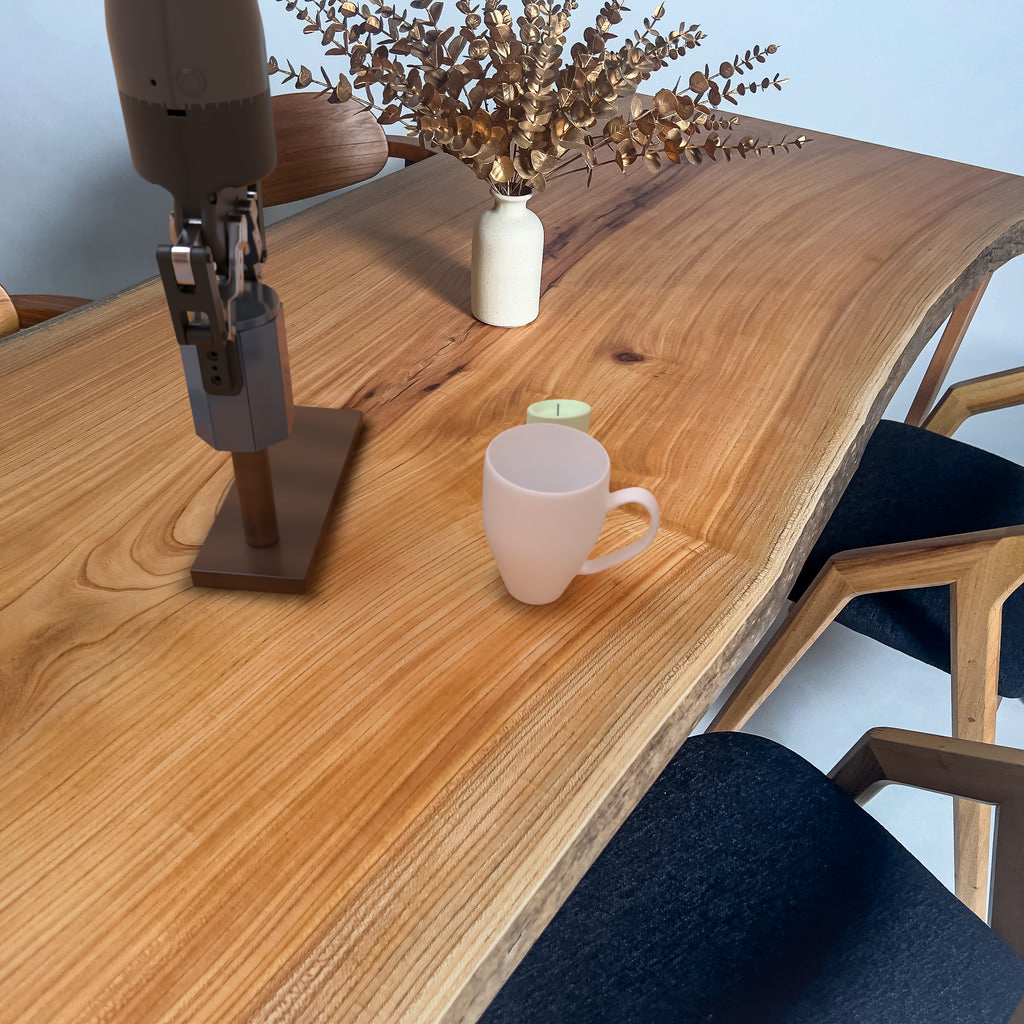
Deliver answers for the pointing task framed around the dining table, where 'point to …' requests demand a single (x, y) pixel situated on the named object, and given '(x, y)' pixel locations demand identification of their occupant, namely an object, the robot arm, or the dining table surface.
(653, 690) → the dining table surface
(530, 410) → the candle
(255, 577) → the cup stand
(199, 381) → the cup
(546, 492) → the mug
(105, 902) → the dining table surface
